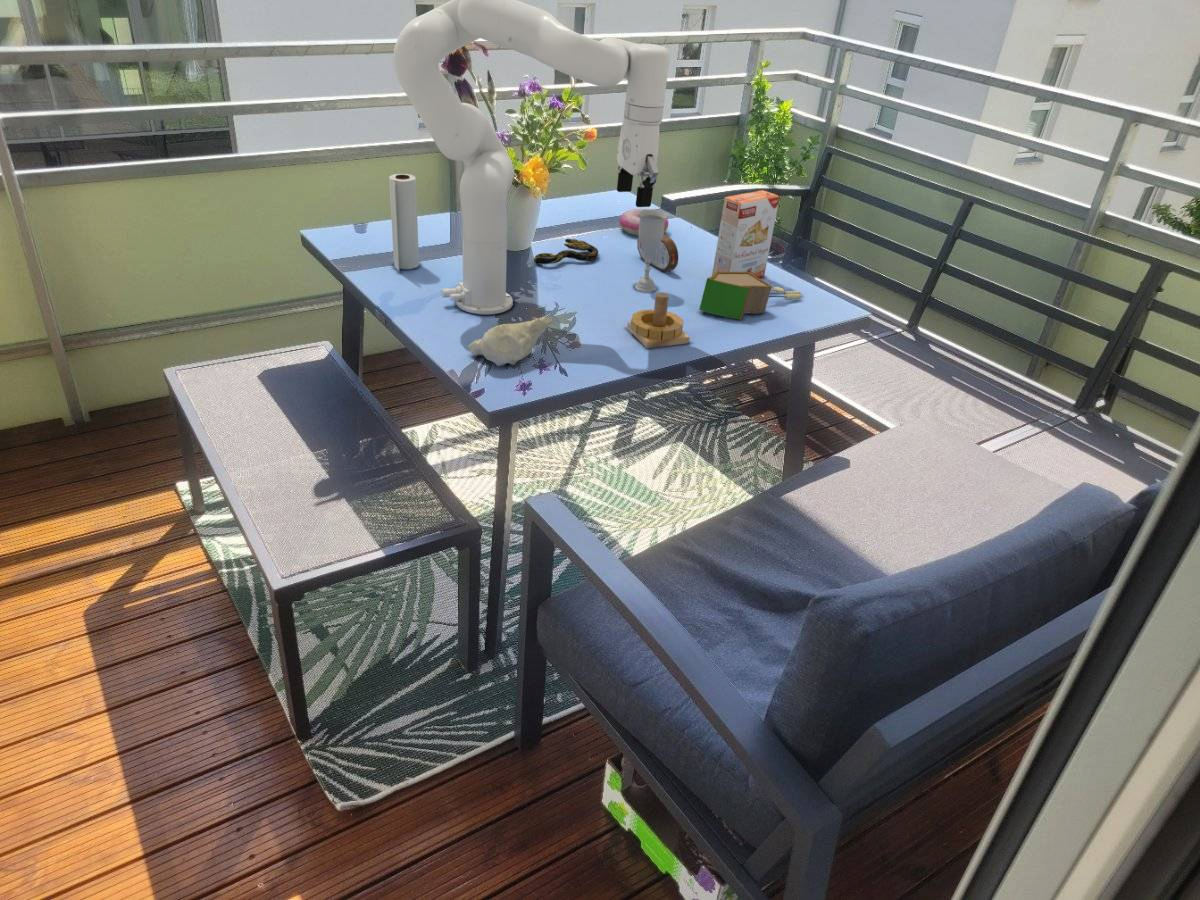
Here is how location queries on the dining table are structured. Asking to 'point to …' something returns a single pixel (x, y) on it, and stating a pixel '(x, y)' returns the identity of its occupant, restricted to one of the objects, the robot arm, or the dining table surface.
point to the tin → (662, 254)
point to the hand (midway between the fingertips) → (633, 198)
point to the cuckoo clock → (738, 294)
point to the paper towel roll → (404, 221)
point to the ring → (656, 332)
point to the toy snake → (569, 253)
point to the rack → (660, 325)
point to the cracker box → (746, 233)
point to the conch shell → (510, 341)
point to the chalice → (650, 242)
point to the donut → (633, 221)
